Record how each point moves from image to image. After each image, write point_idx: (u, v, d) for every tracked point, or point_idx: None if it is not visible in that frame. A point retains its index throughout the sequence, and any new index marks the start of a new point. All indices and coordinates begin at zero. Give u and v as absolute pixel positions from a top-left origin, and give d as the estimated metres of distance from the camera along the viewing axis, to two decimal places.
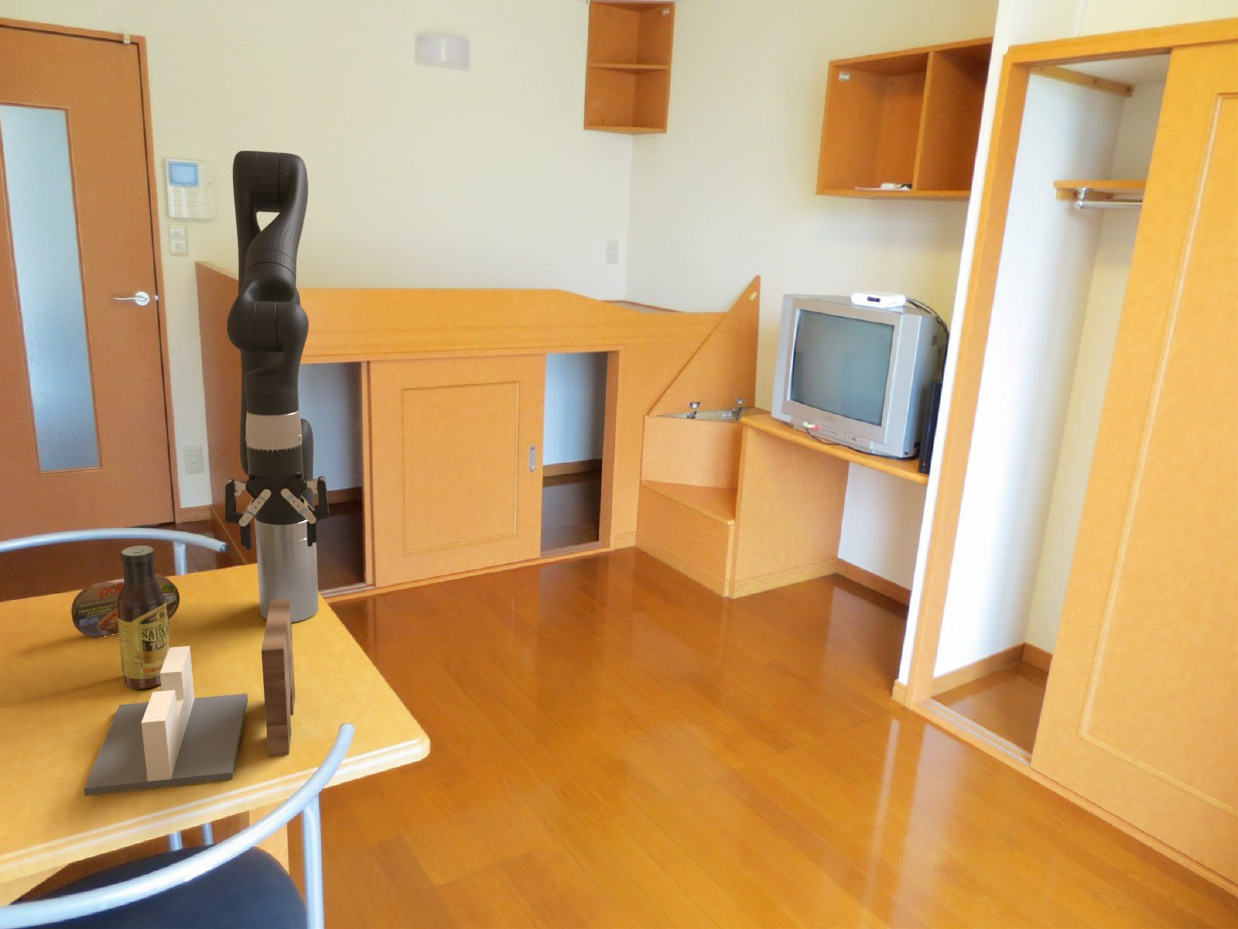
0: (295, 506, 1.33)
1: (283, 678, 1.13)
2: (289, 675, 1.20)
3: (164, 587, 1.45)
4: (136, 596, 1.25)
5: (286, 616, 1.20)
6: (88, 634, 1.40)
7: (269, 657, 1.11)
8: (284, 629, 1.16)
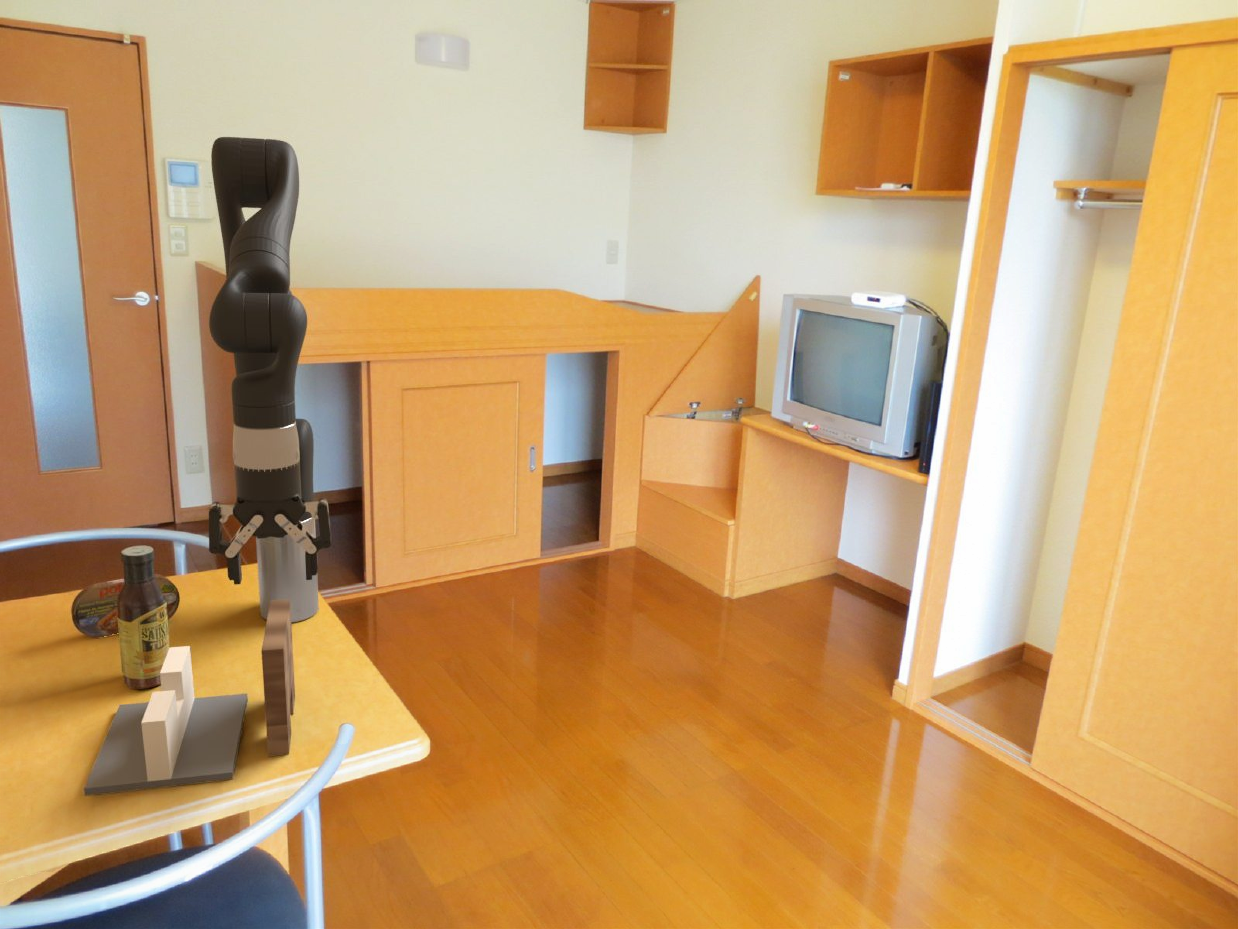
0: (292, 534, 1.13)
1: (283, 678, 1.13)
2: (289, 675, 1.20)
3: (164, 587, 1.45)
4: (136, 597, 1.25)
5: (286, 616, 1.20)
6: (88, 634, 1.40)
7: (269, 657, 1.11)
8: (284, 629, 1.16)
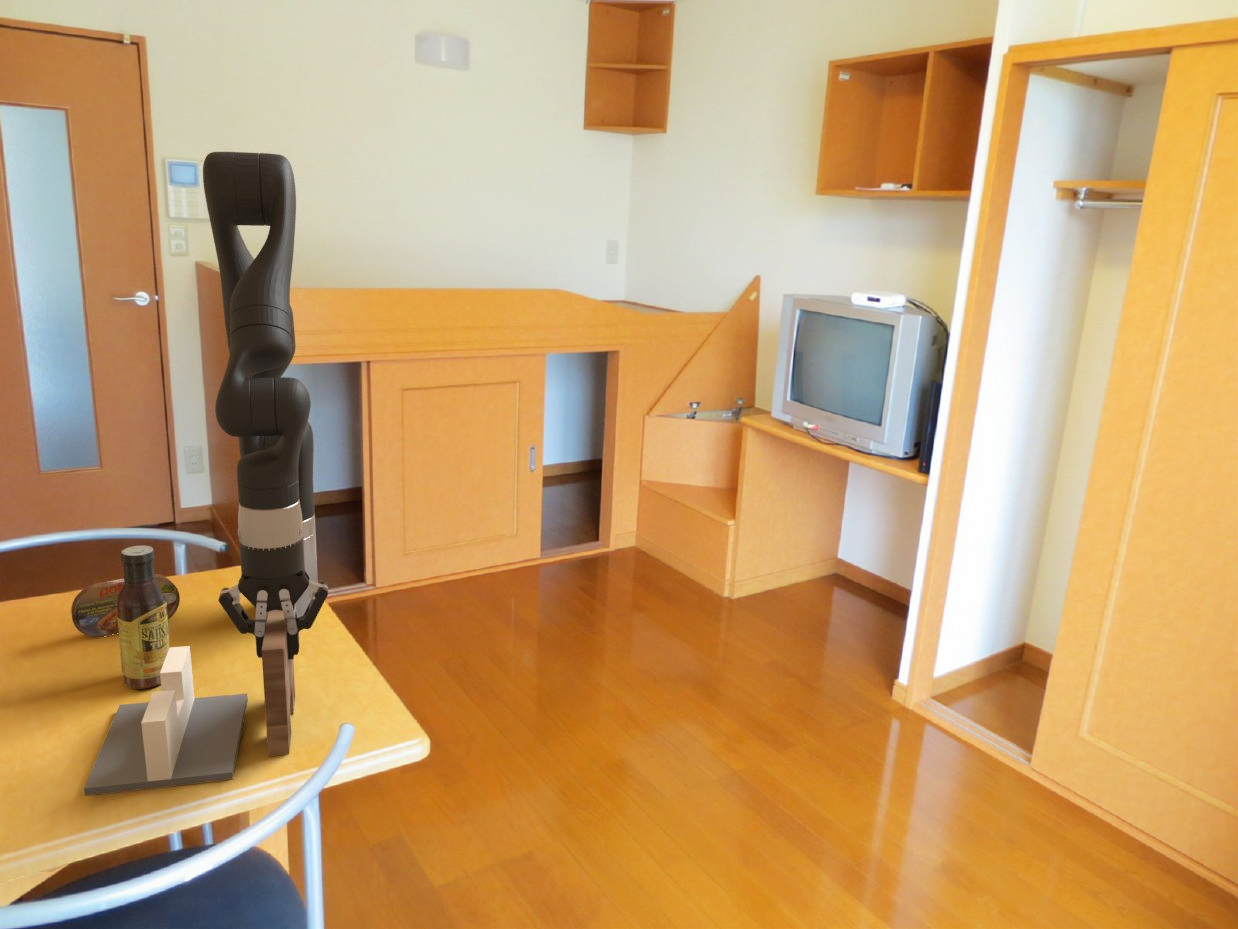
0: (285, 611, 1.16)
1: (283, 678, 1.13)
2: (289, 675, 1.20)
3: (164, 587, 1.45)
4: (136, 596, 1.25)
5: None
6: (88, 634, 1.40)
7: (269, 657, 1.11)
8: (284, 629, 1.16)
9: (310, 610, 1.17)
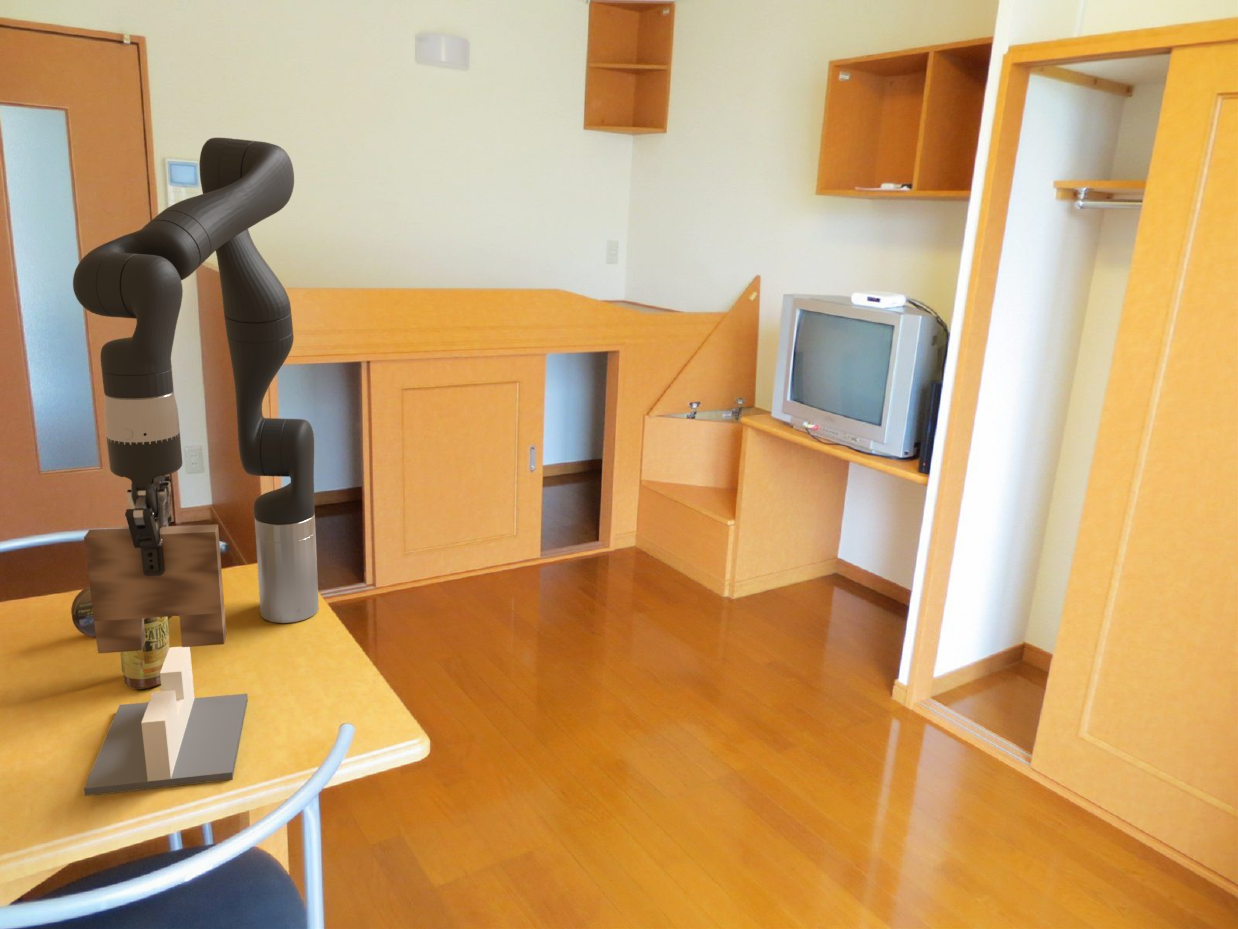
0: None
1: (88, 569, 1.06)
2: (153, 593, 1.09)
3: None
4: None
5: (167, 533, 1.08)
6: (88, 634, 1.40)
7: None
8: None
9: None
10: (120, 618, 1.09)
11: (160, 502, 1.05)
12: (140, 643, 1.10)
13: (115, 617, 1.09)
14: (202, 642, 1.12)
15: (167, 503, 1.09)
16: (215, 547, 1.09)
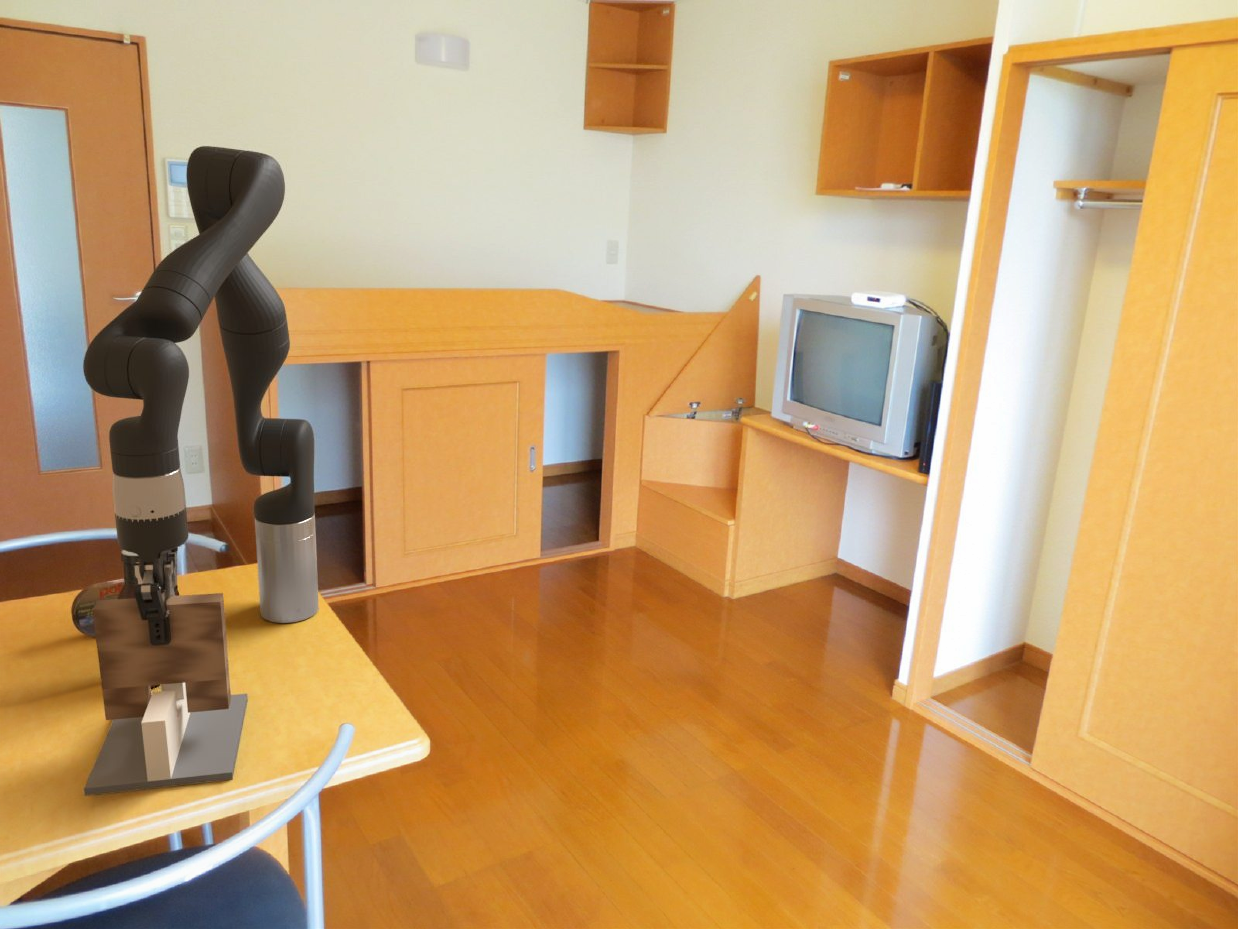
0: None
1: (96, 640, 1.09)
2: (160, 661, 1.12)
3: None
4: None
5: (173, 604, 1.10)
6: (88, 634, 1.40)
7: None
8: None
9: None
10: (127, 686, 1.11)
11: (167, 575, 1.08)
12: None
13: (122, 685, 1.11)
14: (207, 707, 1.15)
15: (173, 574, 1.11)
16: (220, 616, 1.12)
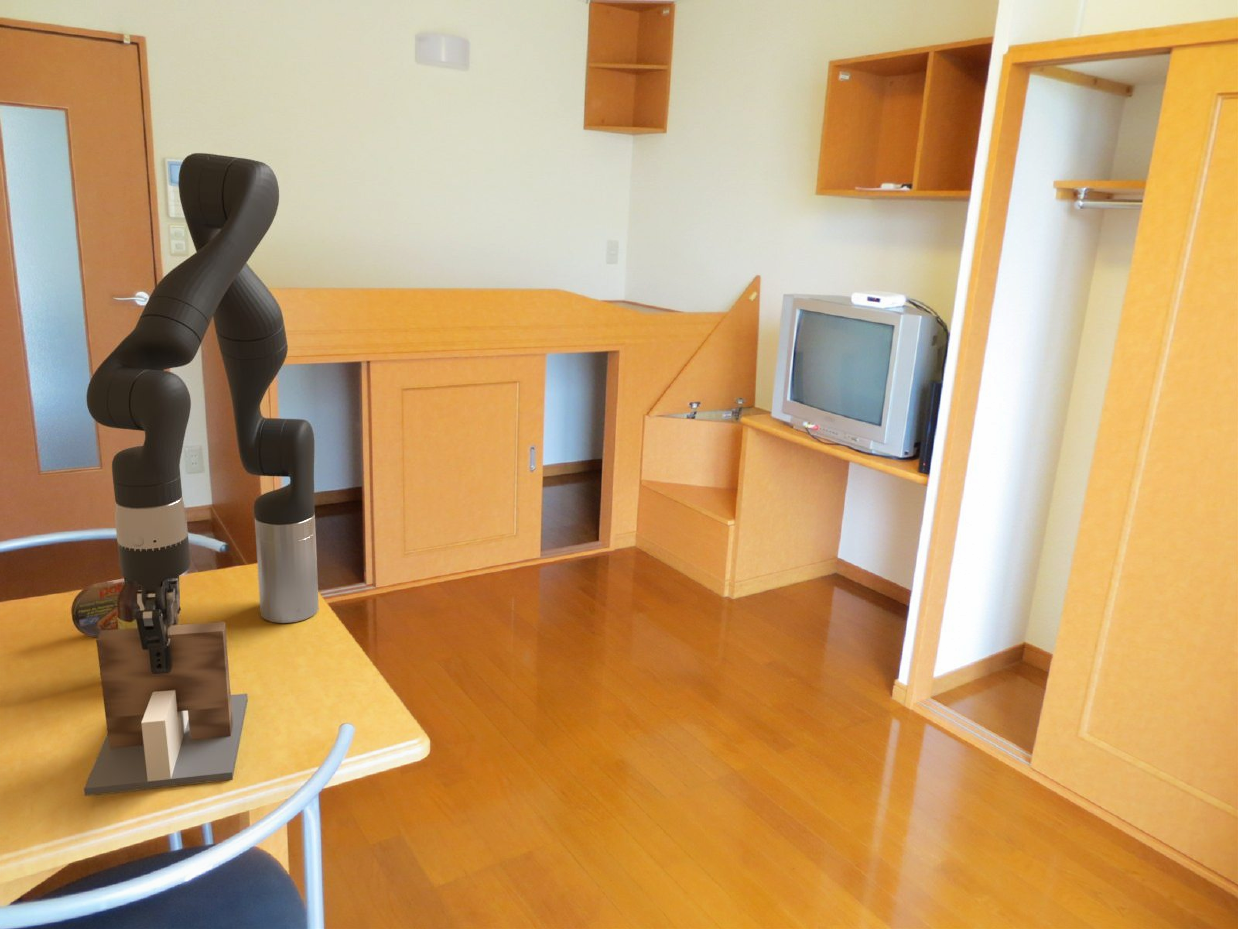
0: None
1: (100, 669, 1.10)
2: (163, 690, 1.13)
3: None
4: (136, 596, 1.25)
5: (176, 633, 1.11)
6: (88, 634, 1.40)
7: None
8: None
9: None
10: (131, 714, 1.13)
11: (169, 602, 1.09)
12: None
13: (126, 714, 1.13)
14: (210, 734, 1.16)
15: (176, 600, 1.12)
16: (222, 645, 1.13)
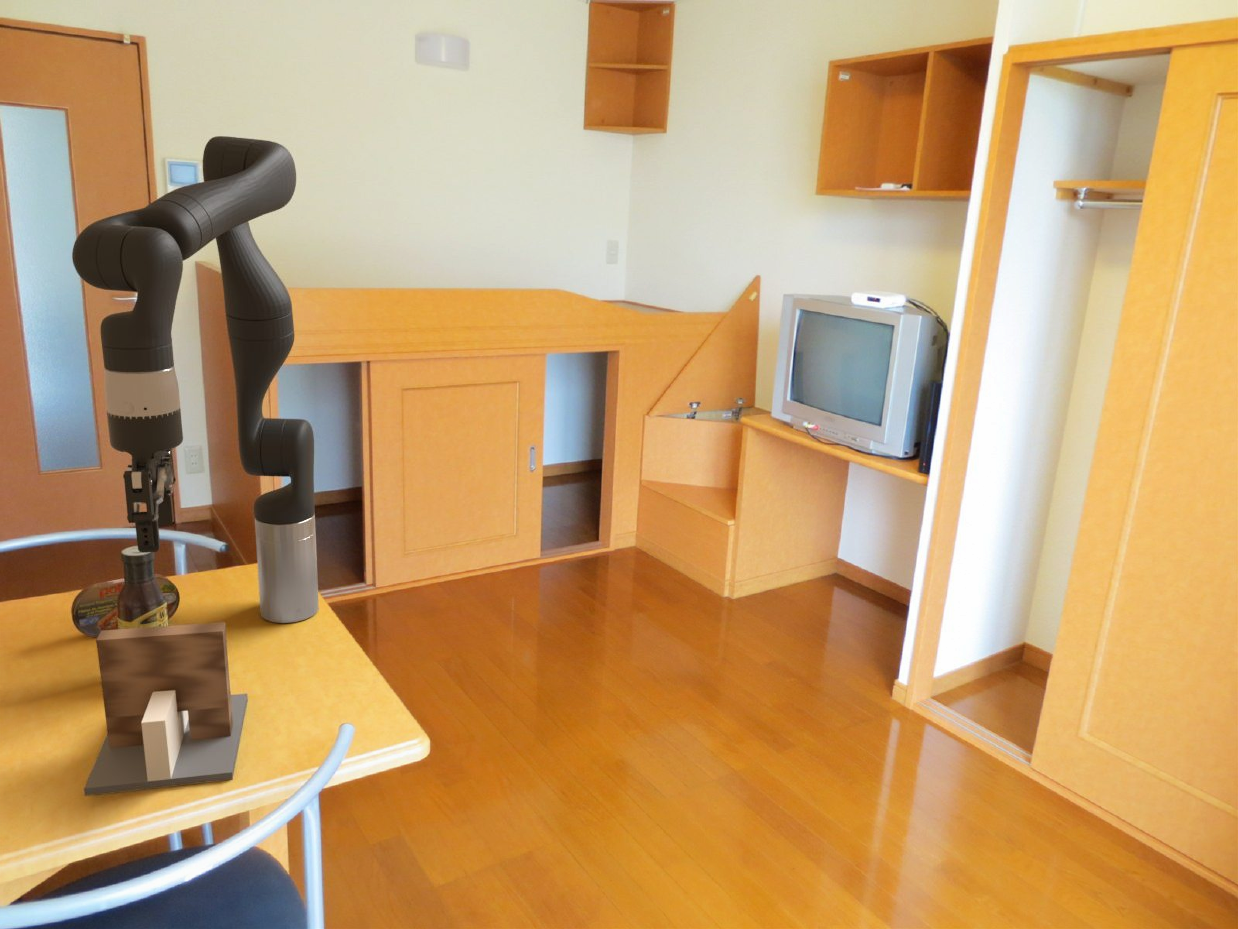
0: None
1: (100, 670, 1.10)
2: (163, 690, 1.13)
3: (164, 587, 1.45)
4: (136, 596, 1.25)
5: (176, 634, 1.11)
6: (88, 634, 1.40)
7: None
8: (143, 636, 1.10)
9: None
10: (131, 714, 1.13)
11: (160, 475, 1.05)
12: None
13: (126, 714, 1.13)
14: (210, 735, 1.16)
15: (169, 475, 1.09)
16: (222, 645, 1.13)
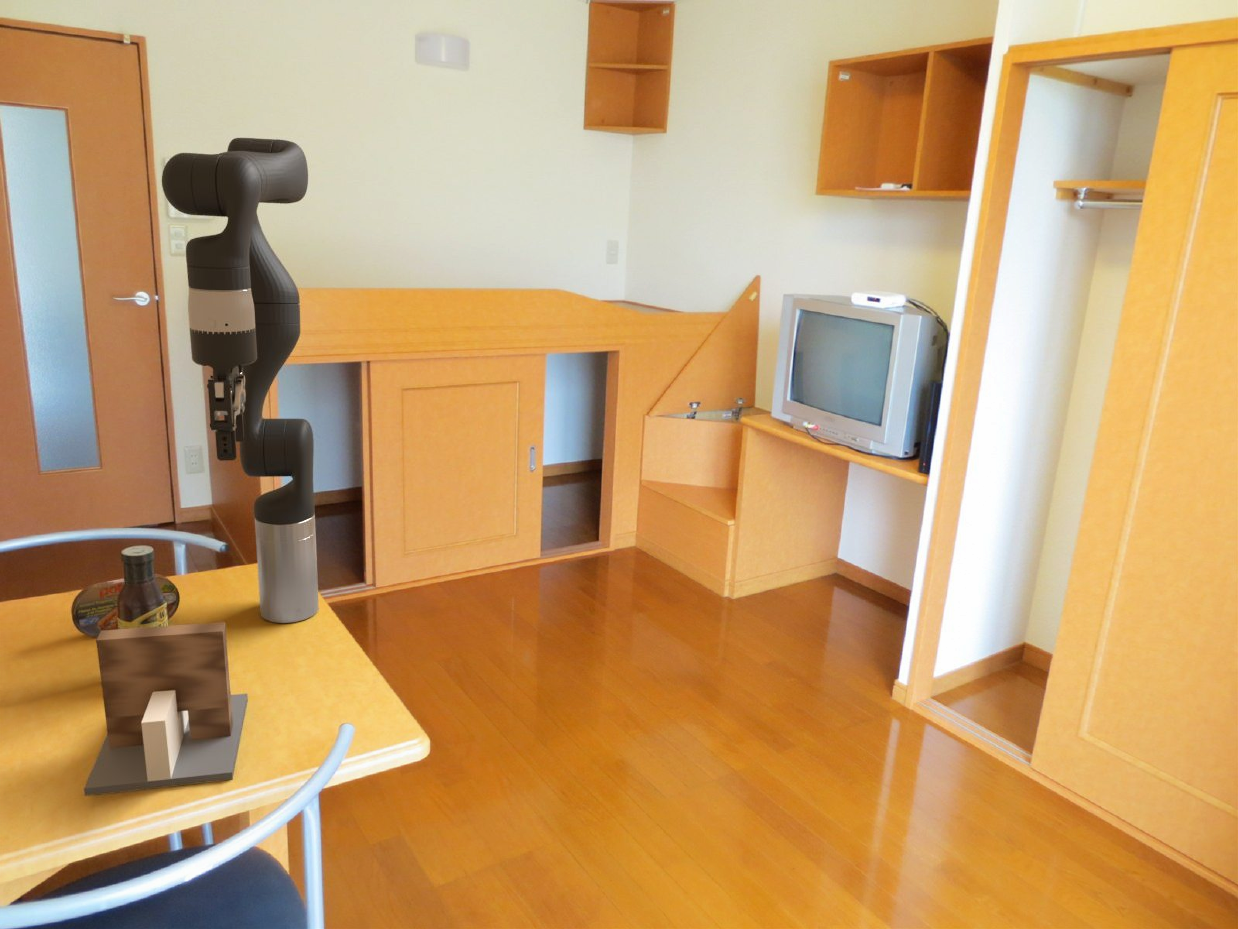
0: None
1: (100, 670, 1.10)
2: (163, 690, 1.13)
3: (164, 587, 1.45)
4: (136, 596, 1.25)
5: (176, 634, 1.11)
6: (88, 634, 1.40)
7: None
8: (143, 636, 1.10)
9: None
10: (131, 714, 1.13)
11: (237, 389, 1.13)
12: None
13: (126, 714, 1.13)
14: (210, 735, 1.16)
15: (243, 392, 1.18)
16: (222, 645, 1.13)
